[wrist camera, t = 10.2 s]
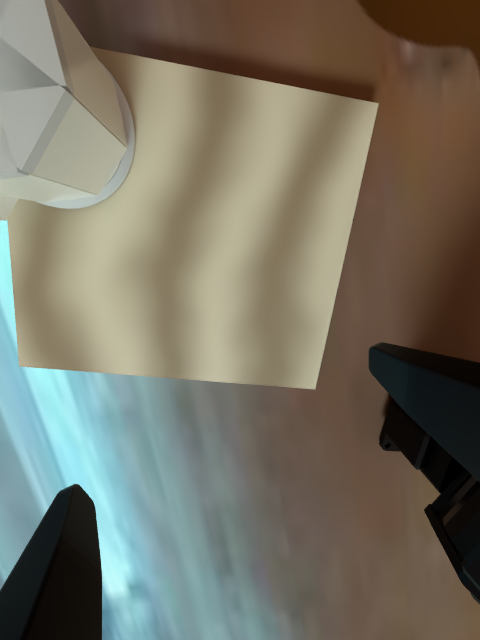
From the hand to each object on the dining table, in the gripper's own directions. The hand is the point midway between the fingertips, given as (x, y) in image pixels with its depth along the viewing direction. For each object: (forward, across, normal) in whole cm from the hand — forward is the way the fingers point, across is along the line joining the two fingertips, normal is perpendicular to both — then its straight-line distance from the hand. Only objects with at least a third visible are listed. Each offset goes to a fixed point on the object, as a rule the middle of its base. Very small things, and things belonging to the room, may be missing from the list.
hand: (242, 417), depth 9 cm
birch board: (+13, -2, -2) cm, 13 cm away
